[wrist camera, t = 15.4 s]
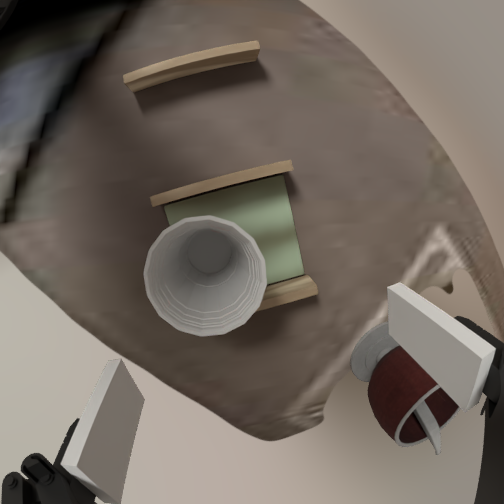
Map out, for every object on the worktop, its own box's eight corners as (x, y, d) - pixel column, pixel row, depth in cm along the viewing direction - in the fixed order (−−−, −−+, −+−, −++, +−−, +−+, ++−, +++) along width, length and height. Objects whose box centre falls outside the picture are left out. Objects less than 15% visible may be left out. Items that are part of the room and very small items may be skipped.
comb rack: (132, 84, 30) (122, 75, 26) (253, 53, 30) (257, 40, 27) (194, 313, 38) (192, 327, 34) (308, 282, 39) (318, 293, 35)
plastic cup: (257, 210, 35) (276, 222, 24) (248, 294, 38) (259, 340, 26) (169, 202, 34) (144, 210, 22) (165, 286, 36) (143, 330, 25)
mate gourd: (338, 339, 42) (401, 429, 23) (411, 302, 42) (492, 364, 23) (353, 399, 46) (399, 478, 27) (415, 366, 46) (473, 429, 27)
